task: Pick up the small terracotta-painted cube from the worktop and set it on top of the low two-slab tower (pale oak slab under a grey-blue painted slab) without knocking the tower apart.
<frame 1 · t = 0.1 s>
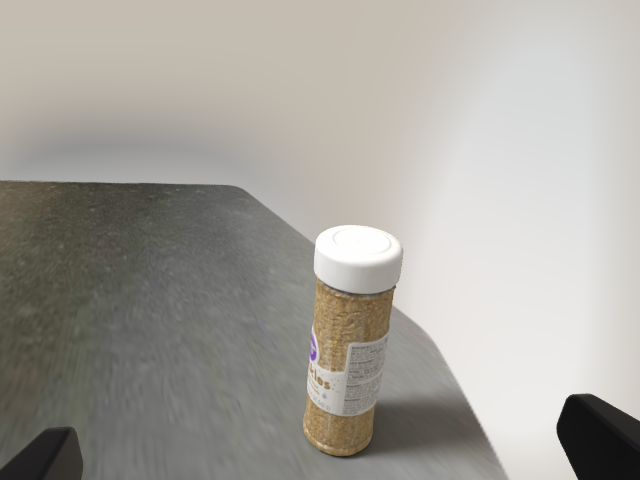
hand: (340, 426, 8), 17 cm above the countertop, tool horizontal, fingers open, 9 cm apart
sprinkles bottle: (338, 432, 29), on the countertop
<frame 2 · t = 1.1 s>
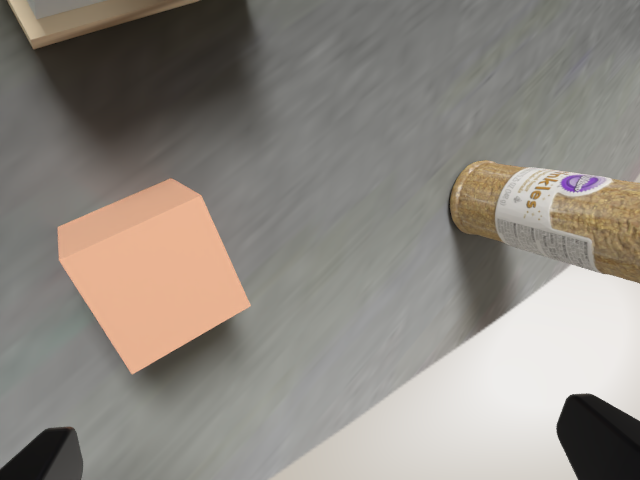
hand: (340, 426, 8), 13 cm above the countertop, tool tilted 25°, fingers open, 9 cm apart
terracotta cube: (143, 250, 19), on the countertop
sprinkles bottle: (470, 197, 28), on the countertop
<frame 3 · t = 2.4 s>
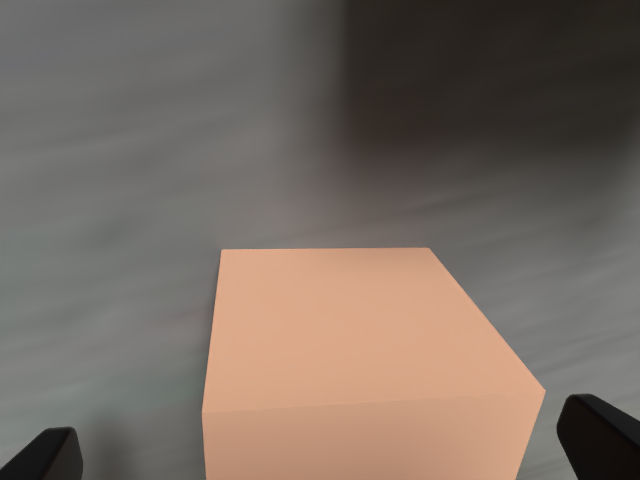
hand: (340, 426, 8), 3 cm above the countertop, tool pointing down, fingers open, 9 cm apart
terracotta cube: (322, 332, 11), on the countertop
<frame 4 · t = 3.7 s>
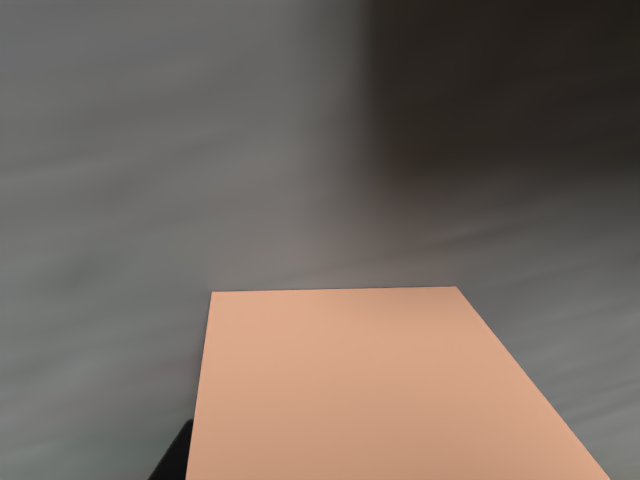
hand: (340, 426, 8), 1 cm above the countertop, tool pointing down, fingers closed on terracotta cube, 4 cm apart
terracotta cube: (330, 385, 9), on the countertop, touching gripper
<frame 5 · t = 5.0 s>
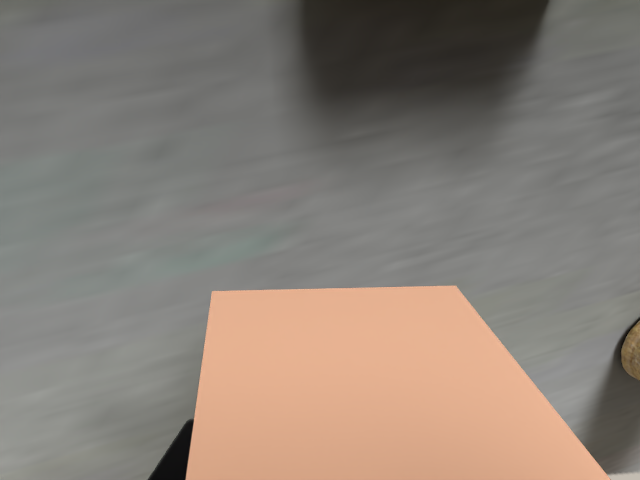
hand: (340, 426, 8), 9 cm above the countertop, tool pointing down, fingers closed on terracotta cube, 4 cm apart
terracotta cube: (330, 384, 9), point 8 cm above the countertop, touching gripper
when the fingers open (8 cm above the countertop, at t = 8.1 s): terracotta cube drops 1 cm, resting on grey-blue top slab.
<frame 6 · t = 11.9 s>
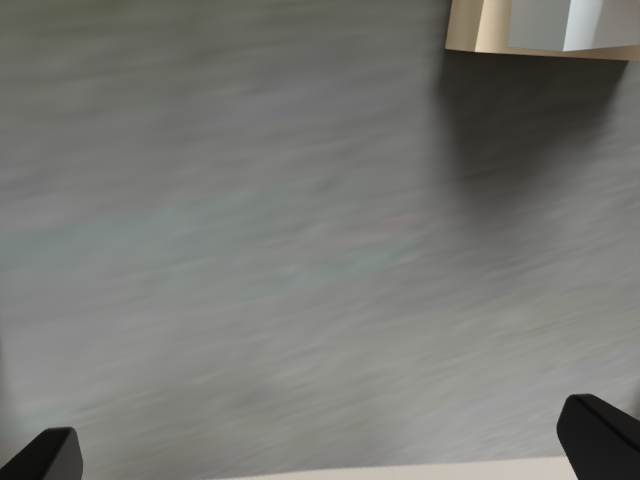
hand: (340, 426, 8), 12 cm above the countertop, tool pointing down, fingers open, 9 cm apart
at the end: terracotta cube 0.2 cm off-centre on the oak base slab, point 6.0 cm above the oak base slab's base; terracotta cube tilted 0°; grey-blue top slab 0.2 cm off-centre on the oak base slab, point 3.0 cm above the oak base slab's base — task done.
